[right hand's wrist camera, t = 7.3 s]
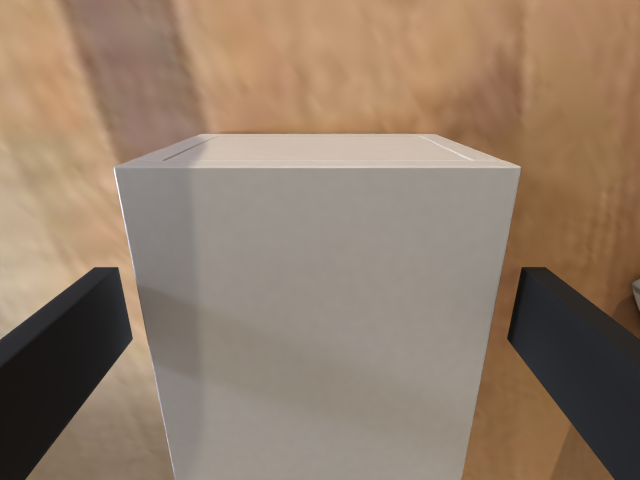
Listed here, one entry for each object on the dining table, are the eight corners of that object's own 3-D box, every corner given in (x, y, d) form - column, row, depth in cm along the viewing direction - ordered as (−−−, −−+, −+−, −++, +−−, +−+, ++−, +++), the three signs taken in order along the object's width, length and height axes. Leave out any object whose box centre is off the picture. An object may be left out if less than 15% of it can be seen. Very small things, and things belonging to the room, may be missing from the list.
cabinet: (407, 403, 25) (448, 550, 17) (230, 403, 24) (188, 551, 17) (436, 133, 18) (522, 166, 11) (200, 133, 18) (112, 166, 11)
